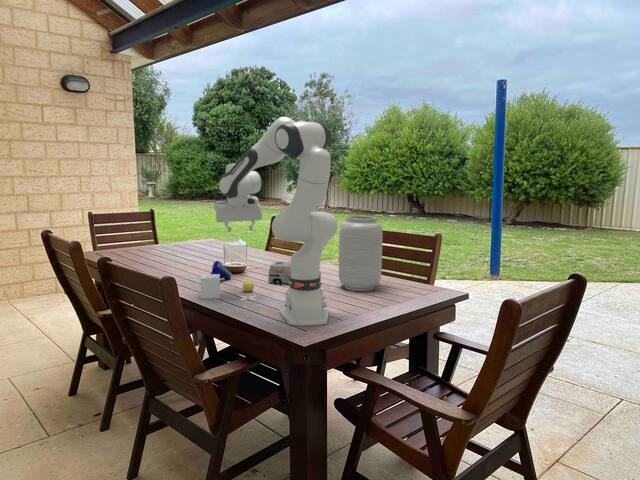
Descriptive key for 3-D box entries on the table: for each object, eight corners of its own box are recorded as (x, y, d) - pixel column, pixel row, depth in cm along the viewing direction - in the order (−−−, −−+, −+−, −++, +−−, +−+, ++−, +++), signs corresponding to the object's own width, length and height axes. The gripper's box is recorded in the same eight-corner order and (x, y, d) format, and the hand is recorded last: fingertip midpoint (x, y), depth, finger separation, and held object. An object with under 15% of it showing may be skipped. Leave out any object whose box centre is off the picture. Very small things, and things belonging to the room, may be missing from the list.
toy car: (317, 287, 219) (317, 267, 217) (267, 284, 224) (267, 264, 223) (321, 282, 229) (322, 263, 228) (274, 279, 234) (274, 260, 233)
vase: (346, 294, 207) (347, 219, 203) (332, 283, 227) (334, 215, 222) (387, 291, 213) (390, 219, 208) (371, 281, 232) (373, 215, 227)
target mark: (262, 298, 199) (262, 297, 199) (247, 302, 192) (247, 302, 192) (248, 294, 204) (248, 294, 204) (232, 298, 197) (232, 298, 197)
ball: (253, 292, 208) (253, 281, 207) (242, 292, 207) (242, 281, 206) (254, 289, 213) (253, 279, 212) (243, 290, 212) (242, 279, 211)
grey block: (218, 298, 198) (218, 278, 196) (201, 298, 197) (200, 278, 195) (220, 293, 205) (219, 274, 204) (203, 294, 204) (202, 274, 203)
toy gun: (205, 278, 221) (214, 260, 225) (220, 290, 231) (228, 273, 236) (212, 279, 219) (220, 261, 223) (227, 291, 229) (234, 273, 234)
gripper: (212, 202, 197) (215, 233, 201) (260, 199, 199) (263, 231, 203) (214, 199, 203) (217, 230, 207) (261, 197, 205) (263, 227, 209)
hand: (240, 230), depth 205 cm, fingers open, 8 cm apart
